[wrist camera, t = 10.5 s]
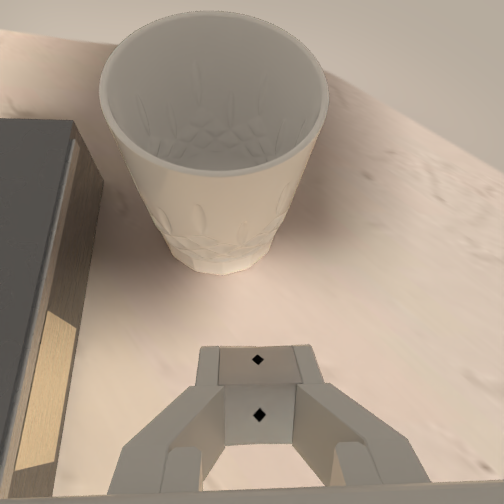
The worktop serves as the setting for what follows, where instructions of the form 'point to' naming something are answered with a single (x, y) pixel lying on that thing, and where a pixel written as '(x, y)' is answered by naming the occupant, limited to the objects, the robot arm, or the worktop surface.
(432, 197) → the worktop surface
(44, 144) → the long dark grey beam
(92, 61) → the worktop surface
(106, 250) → the worktop surface
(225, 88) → the white cup
